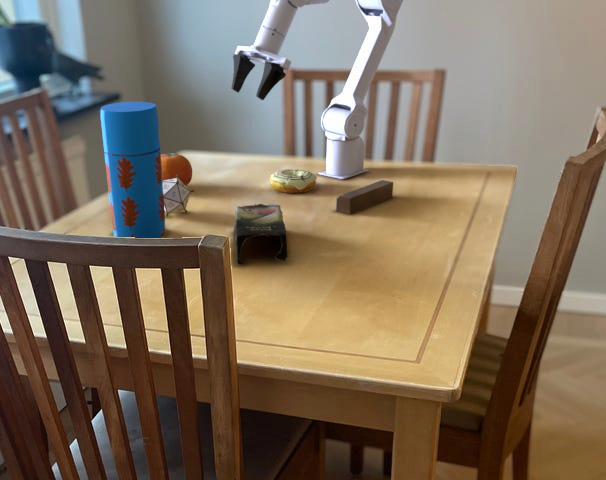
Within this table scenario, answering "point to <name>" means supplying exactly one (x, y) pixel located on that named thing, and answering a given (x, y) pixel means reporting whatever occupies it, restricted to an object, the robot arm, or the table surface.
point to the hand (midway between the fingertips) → (247, 94)
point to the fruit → (176, 167)
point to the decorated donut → (293, 180)
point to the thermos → (134, 169)
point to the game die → (175, 195)
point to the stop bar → (364, 197)
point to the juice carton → (259, 226)
